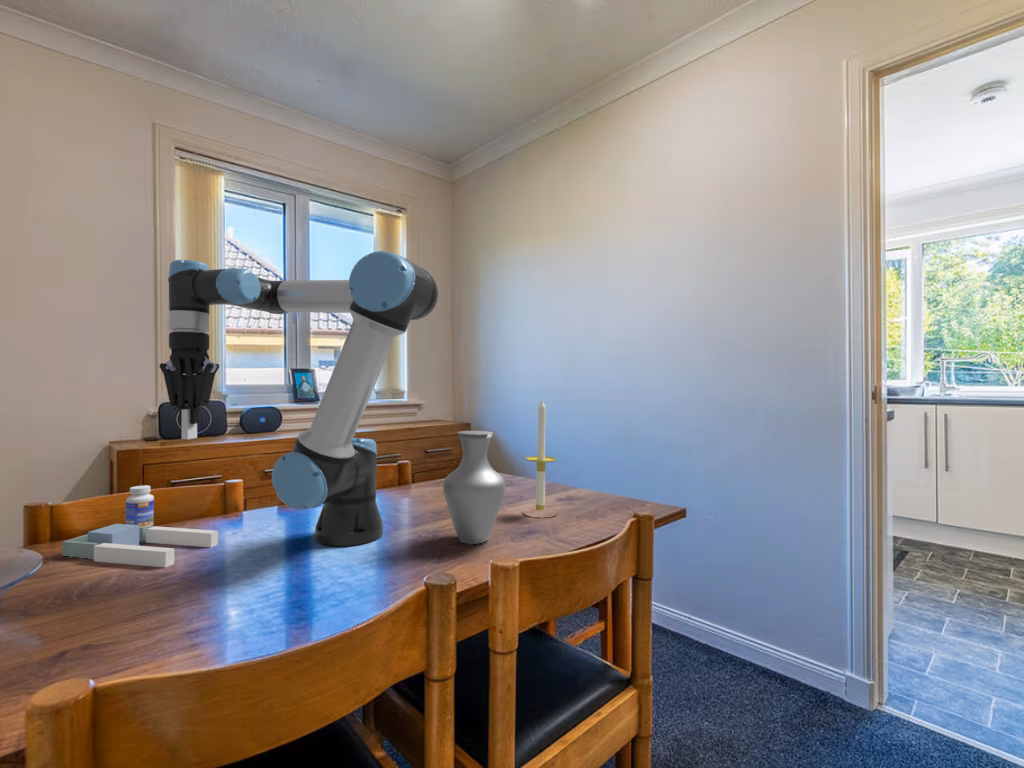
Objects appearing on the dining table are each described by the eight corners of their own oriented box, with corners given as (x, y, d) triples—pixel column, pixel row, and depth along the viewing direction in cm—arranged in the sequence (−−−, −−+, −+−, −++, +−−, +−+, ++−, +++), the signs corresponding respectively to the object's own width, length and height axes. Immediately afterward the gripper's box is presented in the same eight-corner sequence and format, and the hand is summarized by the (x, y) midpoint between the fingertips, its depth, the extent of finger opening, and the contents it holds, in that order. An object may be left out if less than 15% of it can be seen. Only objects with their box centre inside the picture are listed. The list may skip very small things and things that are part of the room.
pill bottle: (138, 531, 115) (138, 490, 115) (119, 529, 116) (120, 488, 116) (159, 524, 121) (159, 485, 121) (141, 523, 122) (141, 484, 122)
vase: (517, 540, 114) (519, 432, 114) (471, 555, 103) (473, 437, 103) (475, 526, 124) (476, 427, 123) (429, 539, 113) (431, 431, 113)
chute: (217, 544, 107) (218, 530, 107) (165, 567, 94) (165, 551, 94) (153, 539, 110) (153, 526, 110) (93, 561, 96) (93, 546, 96)
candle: (534, 506, 144) (536, 396, 144) (564, 512, 138) (566, 397, 138) (515, 514, 136) (517, 396, 136) (545, 520, 130) (548, 398, 130)
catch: (146, 540, 109) (146, 527, 109) (94, 559, 98) (94, 544, 98) (116, 538, 110) (116, 525, 110) (62, 556, 99) (62, 541, 99)
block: (139, 546, 106) (139, 525, 106) (112, 556, 100) (112, 534, 100) (115, 544, 107) (115, 523, 107) (87, 553, 101) (87, 532, 101)
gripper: (228, 333, 112) (228, 437, 112) (176, 334, 113) (176, 436, 113) (203, 330, 104) (203, 441, 104) (148, 330, 106) (148, 439, 106)
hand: (189, 438), depth 109 cm, fingers closed
